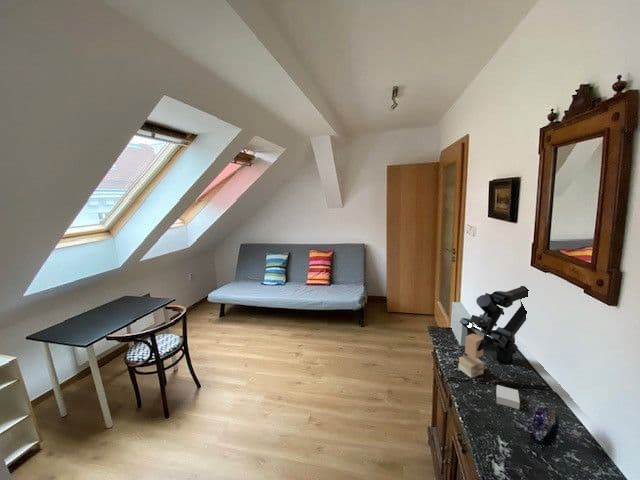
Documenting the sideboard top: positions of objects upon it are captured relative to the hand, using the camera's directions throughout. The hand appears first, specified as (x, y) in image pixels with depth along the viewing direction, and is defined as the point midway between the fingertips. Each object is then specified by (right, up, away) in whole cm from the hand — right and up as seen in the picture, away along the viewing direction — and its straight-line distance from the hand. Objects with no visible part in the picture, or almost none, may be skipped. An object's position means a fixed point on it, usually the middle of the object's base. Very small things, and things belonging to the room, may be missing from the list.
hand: (472, 347), depth 121 cm
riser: (+7, -16, -12) cm, 21 cm away
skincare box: (+12, -7, +34) cm, 36 cm away
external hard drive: (+21, -7, +31) cm, 38 cm away
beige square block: (+2, -10, +4) cm, 11 cm away
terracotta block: (+1, -3, +1) cm, 4 cm away
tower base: (+2, -13, +5) cm, 14 cm away
